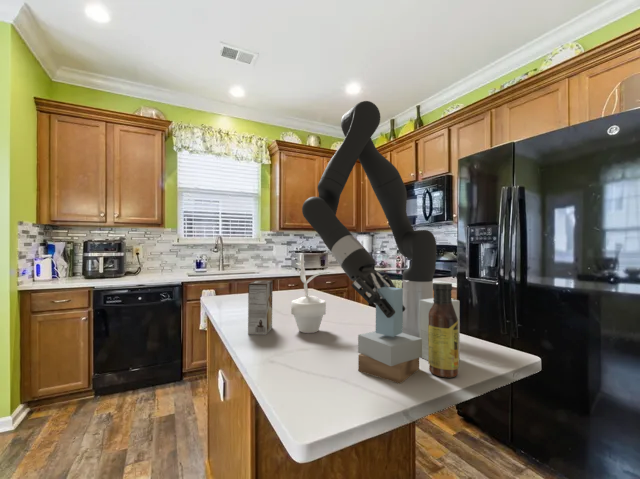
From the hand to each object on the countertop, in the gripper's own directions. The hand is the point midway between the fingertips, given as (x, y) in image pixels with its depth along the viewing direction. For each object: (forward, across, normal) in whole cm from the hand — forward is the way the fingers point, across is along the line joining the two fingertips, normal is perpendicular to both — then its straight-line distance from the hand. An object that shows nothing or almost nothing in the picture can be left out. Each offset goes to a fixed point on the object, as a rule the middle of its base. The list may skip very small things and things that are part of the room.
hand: (397, 313), depth 69 cm
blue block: (+2, 0, +5) cm, 5 cm away
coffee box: (-25, +1, +44) cm, 51 cm away
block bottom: (+8, 0, +11) cm, 14 cm away
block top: (+5, 0, +8) cm, 10 cm away
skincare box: (+12, +15, +6) cm, 20 cm away
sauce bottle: (+15, +6, +4) cm, 17 cm away
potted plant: (-17, +12, +36) cm, 41 cm away
